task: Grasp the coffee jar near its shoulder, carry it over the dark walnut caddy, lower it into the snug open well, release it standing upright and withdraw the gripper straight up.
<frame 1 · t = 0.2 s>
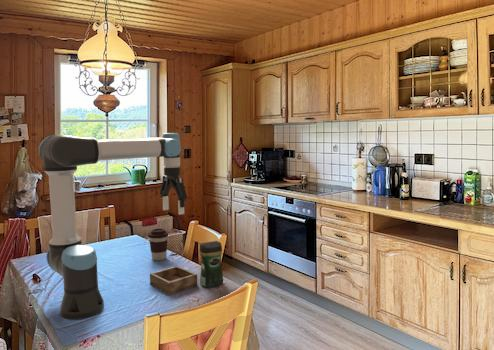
hand: (173, 212, 193), 28 cm above the table, fingers open, 13 cm apart
coffee jar: (211, 284, 178), on the table
coffee cup: (159, 258, 213), on the table
walnut caddy: (173, 285, 177), on the table
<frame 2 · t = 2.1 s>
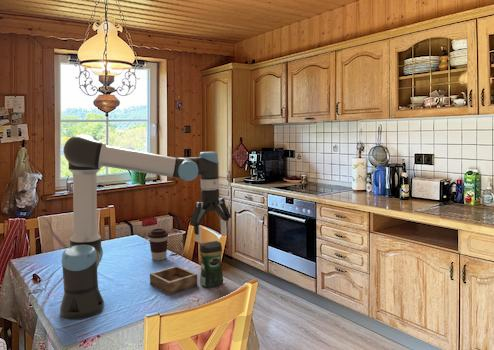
hand: (211, 238, 175), 20 cm above the table, fingers open, 13 cm apart
nothing on the table moved.
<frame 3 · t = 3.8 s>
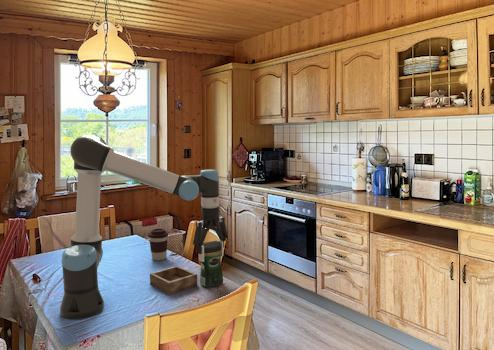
hand: (211, 258, 176), 12 cm above the table, fingers closed on coffee jar, 10 cm apart
coffee jar: (211, 284, 178), on the table, touching gripper
everything else where it was.
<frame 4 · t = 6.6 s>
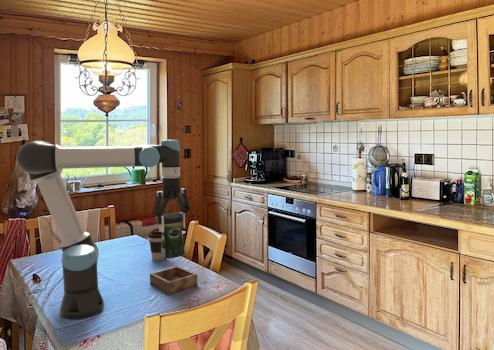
hand: (172, 229, 174), 24 cm above the table, fingers closed on coffee jar, 10 cm apart
coffee jar: (172, 256, 176), point 13 cm above the table, touching gripper
everything else where it was.
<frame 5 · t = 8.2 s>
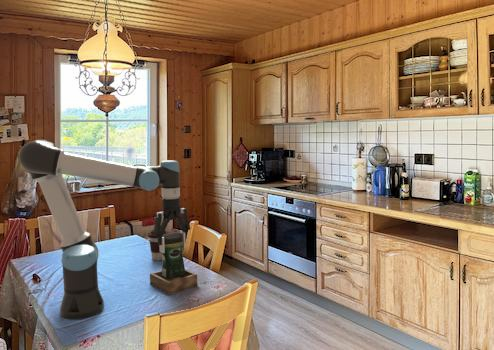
hand: (172, 249, 175), 16 cm above the table, fingers closed on coffee jar, 10 cm apart
coffee jar: (173, 275, 177), point 4 cm above the table, touching gripper
everything else where it was.
when the fingers open (14 cm above the table, at t = 9.5 s): coffee jar drops 1 cm, resting on walnut caddy.
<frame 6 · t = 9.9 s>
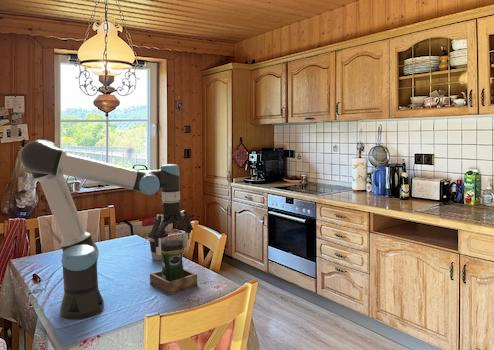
hand: (172, 250, 175), 15 cm above the table, fingers open, 13 cm apart
coffee jar: (172, 282, 178), point 1 cm above the table, touching walnut caddy
everything else where it was.
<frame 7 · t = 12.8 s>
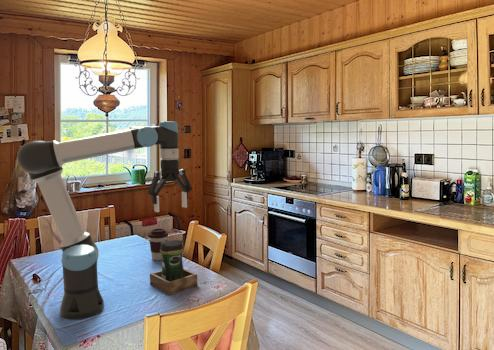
hand: (171, 209, 173), 33 cm above the table, fingers open, 13 cm apart
nothing on the table moved.
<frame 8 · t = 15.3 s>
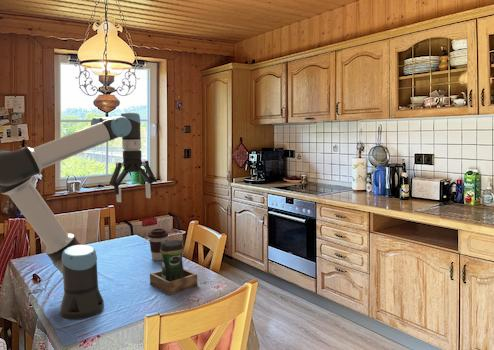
hand: (134, 200, 175), 37 cm above the table, fingers open, 13 cm apart
nothing on the table moved.
at the end: coffee jar inside the target area on the walnut caddy (0.7 cm from its centre), point 0.8 cm above the walnut caddy's base; coffee jar tilted 0°; the gripper is holding nothing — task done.
